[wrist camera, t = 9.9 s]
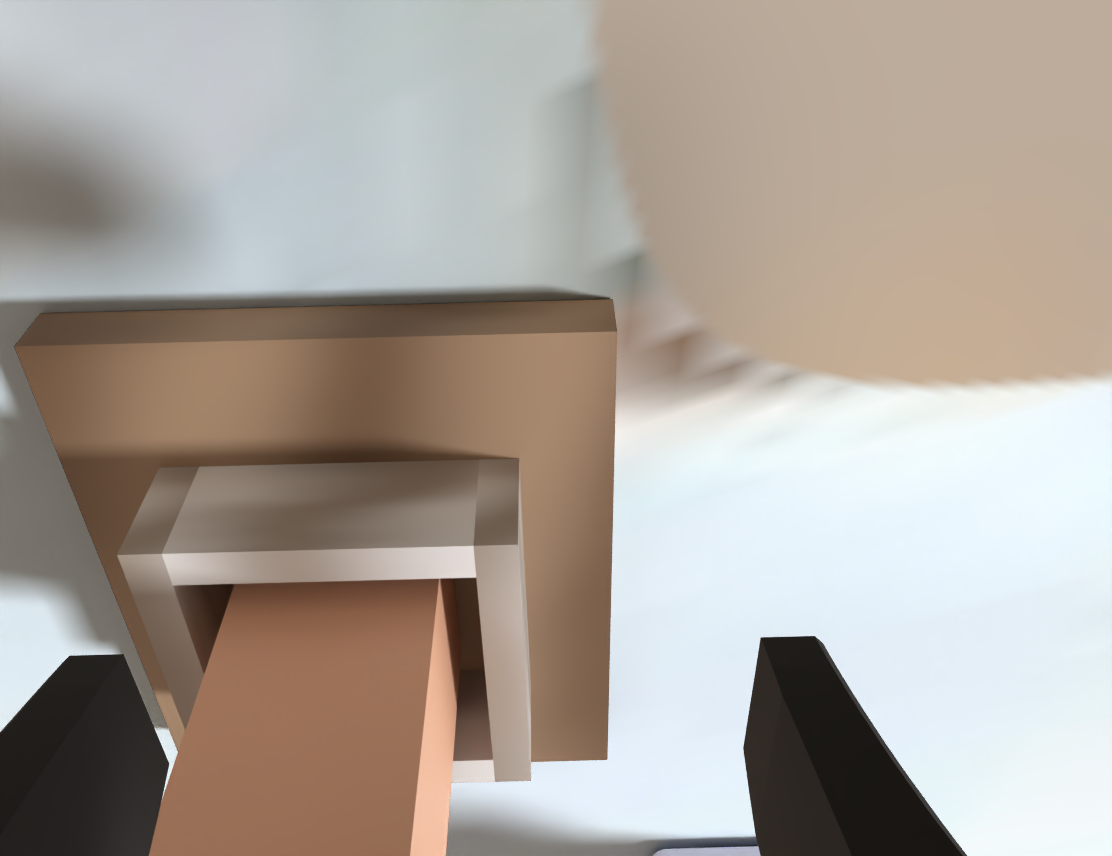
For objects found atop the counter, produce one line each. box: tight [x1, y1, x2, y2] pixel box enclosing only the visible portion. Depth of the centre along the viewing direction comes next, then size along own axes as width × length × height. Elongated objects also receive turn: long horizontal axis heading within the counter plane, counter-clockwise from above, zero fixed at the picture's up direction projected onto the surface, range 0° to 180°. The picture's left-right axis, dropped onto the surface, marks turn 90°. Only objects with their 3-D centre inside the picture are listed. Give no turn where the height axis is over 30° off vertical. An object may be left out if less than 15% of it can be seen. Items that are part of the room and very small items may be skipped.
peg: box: [149, 578, 462, 856], centre depth 19 cm, size 4×4×8 cm
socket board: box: [14, 299, 617, 783], centre depth 21 cm, size 11×13×4 cm
